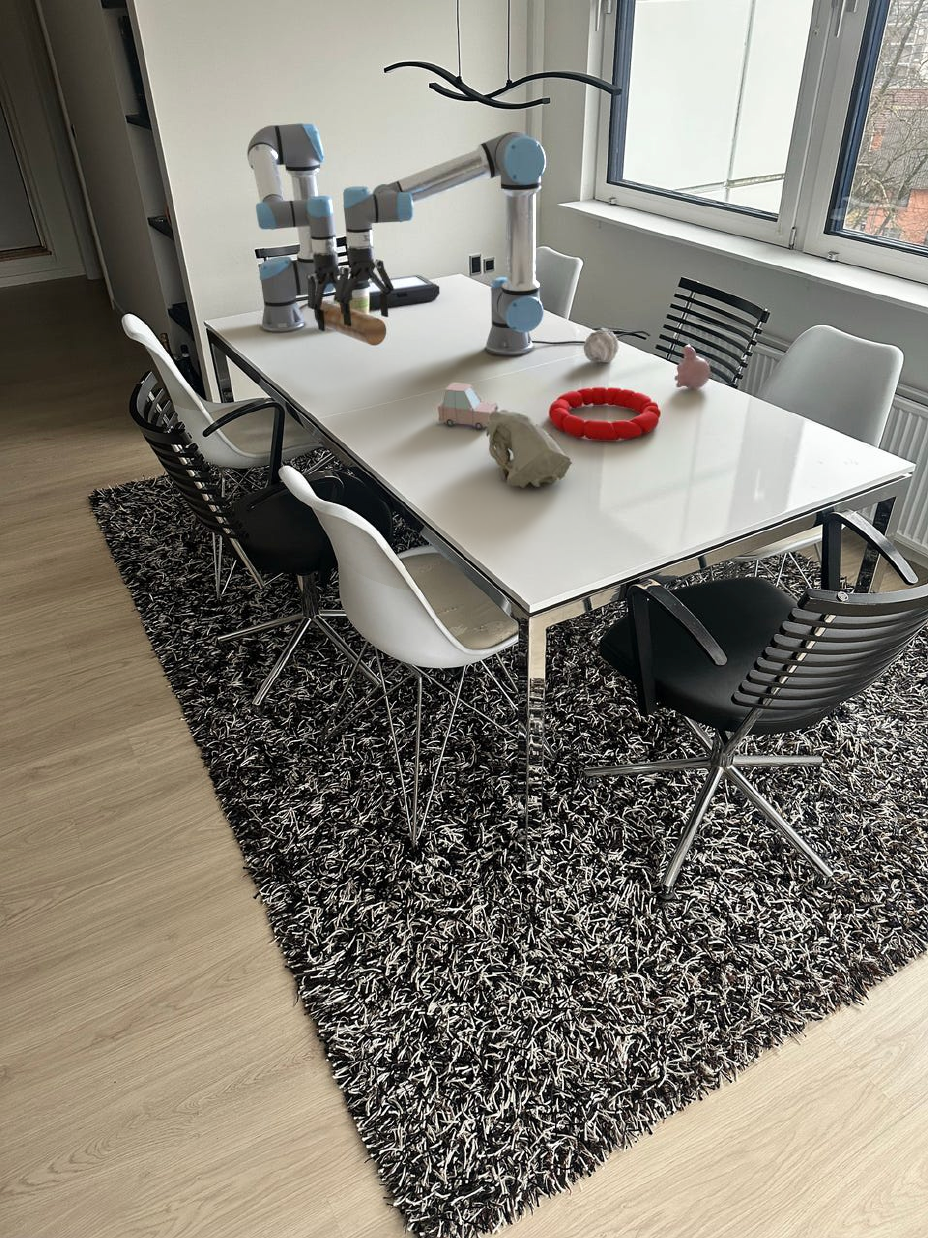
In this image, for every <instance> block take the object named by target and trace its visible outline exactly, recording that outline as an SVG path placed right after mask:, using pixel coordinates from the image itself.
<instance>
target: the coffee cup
mask: <svg viewBox="0 0 928 1238" xmlns="http://www.w3.org/2000/svg"><path fill="white" fill-rule="evenodd" d="M354 279H355V278H354ZM348 280H349V278H348ZM369 282H370V281H369V279H368V280H366V279H365V280H363V281H359V282H358V283H357V284H356V286H355V288H354V290H353V292H352V297H353V299H352V300H350V303H349V305H350V309H353V310H356V311H359V312H361V313H364V314H367V315H369V313H370V310H369V287H370V283H369Z"/></svg>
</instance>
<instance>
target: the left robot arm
mask: <svg viewBox="0 0 928 1238" xmlns="http://www.w3.org/2000/svg"><path fill="white" fill-rule="evenodd" d="M246 156H247V161H248V164H249V167H250V169H252V171H253V174H254V179H255V183H256V187H257V193H258V197H259V201H260V202H257V203H256V206H255V212H256V218H257V223H258V227H259V229H261V230H281V229H291V228H297V233H298V234H297V235H298V242H299V251H298V252H297V254H296V260H292V258H291V257H290V256H277V257H272V258H269V259H267V260H264V261H263V262H261V263H260V265H259V266H258V270H259V280H260V285H261V286H260V287H261V292H262V299H263V313H262V319H261V326H262V330H264V331H265V332H271V333H286V332H293V331H296V330H297V331H298V330H300V329H302V328H304V326H305V319H304V317H303V314H302V312H301V310H302V309H303V308H305V307H307V308H308V309H311V310H313V311H314V319H315V321H316V320H317V321H318V323H317V327H318V330H319V331H322V332H326V327H325V325H324V316H323V310H322V309H320V308H321V304H322V301H323V299H324V294H327V293H332V292H333V291H334V290H335V291H336V289H337V285H338V282H339V278H338V277H339V276H340V268H341V267H339V256H338V255H339V253H338V252H337V250H338V245H337V236H336V228H335V227H336V226H335V216H334V211H335V210H334V205H333V200H332V198H331V197H330V196H327V195H319V194H320V193H319V184H318V183H319V182H318V176H317V175H318V173H319V171H320V170H321V164H322V163H324V162H325V157H324V156H325V155H324V149H323V145H322V140H321V137H320V133H319V131H318V128H317V127H316V125H315V124H313V123H300V122H299V123H290V124H288V123H287V124H276V125H274V124H273V125H267V126H264V127H263V128H261V129H259V130H258V131H257V132H255V134H253V136H252V138H251V139H250V141H249V144H248V147H247V153H246ZM278 166H284V167H285V171H286V172H287V173H288V174H289V175H290V177H291V186H292V193H293V194H292V195H293V200H286V198H285V195H284V190H283V186H282V182H281V178H280V174H279V170H278ZM348 281H349V280H347V283H348ZM346 285H347V284H346ZM297 296H307V303H304V304H302V305H301V306H298V305H299V304H298V303H297ZM352 299H353V297H352V293H351V295H350V297H349V299H348V301H347V303H350V300H352ZM338 304H339V305H340V303H338ZM317 321H316V322H317Z"/></svg>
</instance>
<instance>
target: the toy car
mask: <svg viewBox="0 0 928 1238" xmlns="http://www.w3.org/2000/svg"><path fill="white" fill-rule="evenodd" d="M498 409H499V404H498V403H497V402H490V401H489V402H487V401H483V397H481V396H480V395H479V394H478V393H477V391H476V390H475V389H474V386H472V384H469V383H459V382H451V383H450V384H449V385H448V386H447V387H446V388H445V389H444V394H443V399H442V403H440V404H439V405H438V406H437V413H438V421H439V422H443V423H446V425H447V426H448V427H452V426H454V425H455V424H461V425H469V426H473V427H475V429H476V430H479V431H480V430H481V429H483V428H485V427H486V428H487V423H488V422H490V414H491V413H492V412H496V411H499V410H498Z"/></svg>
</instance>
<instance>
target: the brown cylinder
mask: <svg viewBox="0 0 928 1238" xmlns="http://www.w3.org/2000/svg"><path fill="white" fill-rule="evenodd" d="M320 309H322V310H323V316H324V325H325V329H326V328H327V329H329V330H331V331H334V332H337V333H339V334H342V335H344V336H347V337H349V338H352V339H355V340H357V341H359V342H363V343H365V344H367V345H370V346H379V345H380V344H381V343H382V342H383V341H384V340H385V338H386V336H387V326H386V323H385V321H383V320H382V319H381V318H379V317H375V316H373V315H367V314H364V313H361V312H359V311H356V310H353V309H350V316H351V326H347V325H344V317H343V314H341V308H340V305H339V303H337V302H333V301H330V300H322V304H321V308H320ZM315 321H316V323H317V324H318V321H317V320H316V319H315Z"/></svg>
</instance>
